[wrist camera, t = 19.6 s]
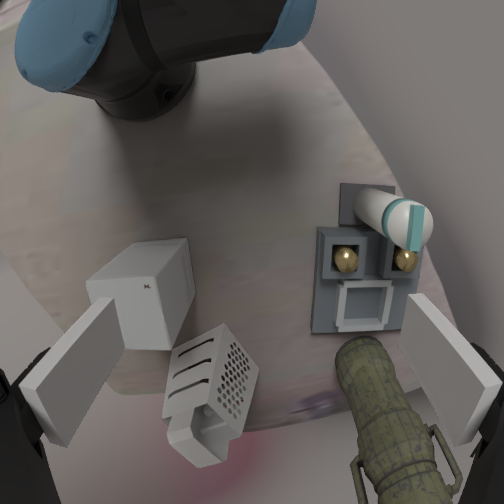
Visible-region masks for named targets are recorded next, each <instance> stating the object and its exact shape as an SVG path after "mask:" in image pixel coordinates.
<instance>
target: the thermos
mask: <svg viewBox="0 0 504 504" xmlns="http://www.w3.org/2000/svg"><path fill="white" fill-rule="evenodd" d="M335 365H336V369H337V375H338V379H339V382H340V386H341V388H342V390H343V391H344V393H345V394H346V395H347V397H348V400H349V404H350V407H351V411H352V413H353V417H354V421H355V424H356V428H357V431H358V434H359V435H358V439H357V443H358V448H359V455H357V456H356V457H355V458H354V460H353V461H352V462H351V464H350V467H351V471H352V475H353V480H354V485H355V489H356V494H357V499H358V503H359V504H368V499H367V495H366V491H365V486H364V483H363V479H362V474H361V470H360V467H363V468H364V472H365V475H366V476H367V477H368V479H369V480H370V481H371V483H372V484H373V486H374V490H375V492H376V493H377V494H378V504H453V502H452V500H451V499H452V497H453V495H455V494H456V493H458V492H459V490H460V487H461V484H462V481H463V477H462V473H461V471H460V469H459V467H458V465H457V463H456V461H455V459H454V457H453V455H452V453H451V451H450V449H449V447H448V445H447V443H446V441H445V439H444V437H443V435H442V433H441V432H440V430H439V428H438V427H437V425H436V424H434V425H432V426H430V427H428V426H427V424H423V422H422V420H421V418H420V416H419V414H417V413H416V412H414V411H413V410H412V408H411V406H410V404H409V402H408V400H407V398H406V396H405V394H404V392H403V390H402V388H401V386H400V384H399V382H398V380H397V378H396V373H395V368H394V365H393V363H392V361H391V359H390V357H389V355H388V353H387V351H386V350H385V349H384V348H383V346H382V344H381V342H380V341H378V340H377V339H376V338H373V337H370V336H360V337H356V338H353V339H351V340H349V341H347V342H346V343H345V344H344V345H343V346H342V347H340V349H339V351H338V352H337V354H336V358H335ZM434 434H435V437H436V439H437V441H438V443H439V445H440V447H441V449H442V451H443V453H444V455H445V457H446V460H447V462H448V464H449V466H450V468H451V470H452V473H453V475H454V477H455V479H456V481H455V484H454V485H452V486H450V484H449V485H447V486H446V485H445V483H444V481H443V478H442V476H441V473H440V472H438V471H437V464H436V462H435V460H434V445H433V443H432V440H431V438H432V436H433V435H434Z"/></svg>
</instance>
